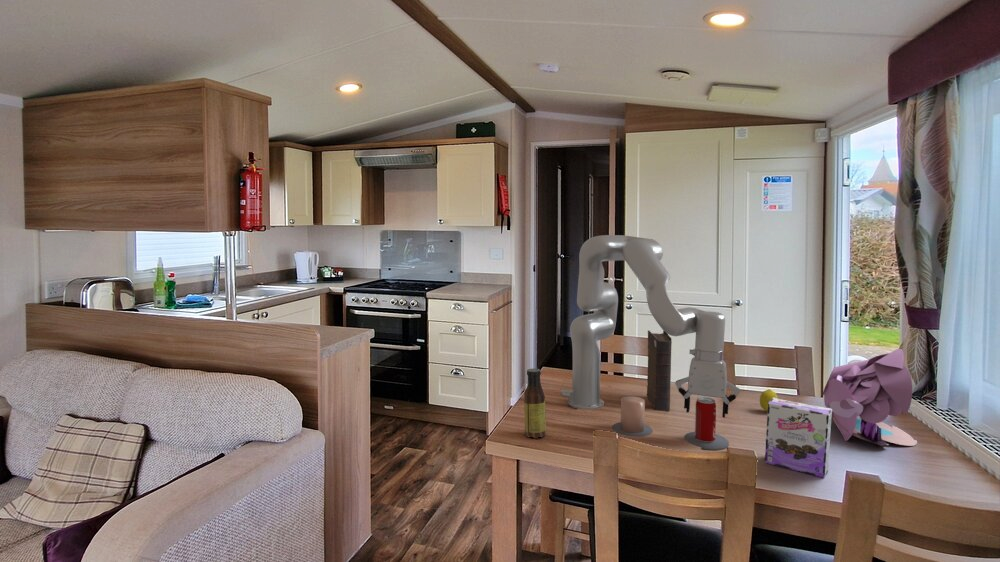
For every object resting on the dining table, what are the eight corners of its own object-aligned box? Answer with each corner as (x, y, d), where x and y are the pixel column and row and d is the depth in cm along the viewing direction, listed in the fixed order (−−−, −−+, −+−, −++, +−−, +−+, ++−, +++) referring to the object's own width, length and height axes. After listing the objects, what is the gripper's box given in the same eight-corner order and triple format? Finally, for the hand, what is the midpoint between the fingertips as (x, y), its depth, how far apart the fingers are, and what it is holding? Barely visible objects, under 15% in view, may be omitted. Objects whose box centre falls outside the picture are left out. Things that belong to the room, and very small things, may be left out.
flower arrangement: (938, 477, 141) (978, 381, 134) (842, 453, 145) (877, 358, 139) (877, 419, 175) (908, 339, 168) (801, 400, 179) (828, 322, 172)
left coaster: (608, 434, 158) (608, 432, 158) (616, 421, 169) (616, 419, 169) (649, 441, 153) (649, 439, 153) (655, 426, 164) (655, 424, 164)
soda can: (717, 443, 149) (718, 402, 148) (696, 442, 151) (697, 401, 150) (713, 436, 155) (714, 396, 154) (693, 435, 156) (694, 395, 155)
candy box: (763, 463, 139) (766, 402, 137) (769, 455, 143) (772, 396, 142) (824, 478, 130) (828, 413, 128) (828, 470, 135) (832, 407, 133)
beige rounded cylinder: (618, 431, 159) (618, 402, 158) (622, 423, 166) (623, 395, 165) (642, 434, 156) (642, 405, 156) (645, 426, 163) (646, 398, 162)
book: (670, 413, 176) (672, 339, 174) (648, 411, 178) (650, 338, 175) (666, 397, 192) (668, 330, 190) (645, 396, 194) (647, 329, 191)
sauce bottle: (550, 435, 158) (550, 370, 156) (536, 441, 153) (536, 374, 151) (533, 429, 162) (533, 366, 160) (519, 435, 158) (519, 369, 156)
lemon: (780, 416, 173) (781, 392, 173) (761, 415, 174) (762, 391, 174) (774, 410, 179) (776, 387, 178) (757, 409, 180) (758, 386, 179)
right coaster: (682, 446, 150) (682, 444, 150) (685, 431, 161) (685, 429, 161) (728, 453, 145) (728, 451, 145) (728, 437, 156) (728, 435, 156)
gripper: (675, 355, 150) (672, 413, 152) (742, 362, 143) (738, 422, 145) (678, 349, 157) (675, 405, 159) (742, 355, 150) (738, 413, 152)
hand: (705, 413), depth 152 cm, fingers open, 9 cm apart
